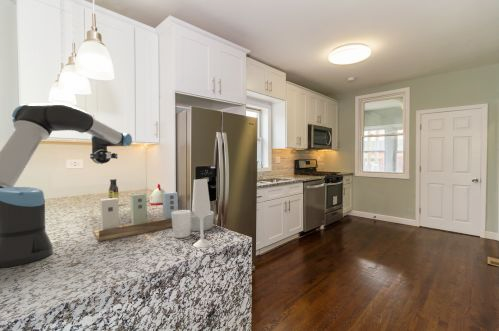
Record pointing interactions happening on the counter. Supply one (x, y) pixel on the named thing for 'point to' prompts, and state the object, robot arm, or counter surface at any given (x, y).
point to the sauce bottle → (113, 189)
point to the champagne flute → (201, 207)
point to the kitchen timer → (157, 196)
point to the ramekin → (206, 221)
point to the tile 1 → (109, 213)
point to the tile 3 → (169, 204)
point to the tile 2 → (138, 208)
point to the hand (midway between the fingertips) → (109, 155)
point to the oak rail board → (132, 229)
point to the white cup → (181, 223)
